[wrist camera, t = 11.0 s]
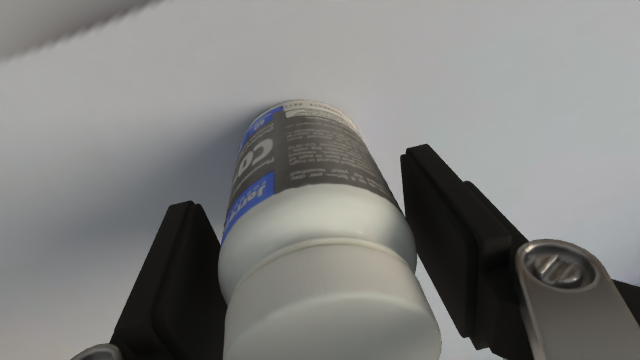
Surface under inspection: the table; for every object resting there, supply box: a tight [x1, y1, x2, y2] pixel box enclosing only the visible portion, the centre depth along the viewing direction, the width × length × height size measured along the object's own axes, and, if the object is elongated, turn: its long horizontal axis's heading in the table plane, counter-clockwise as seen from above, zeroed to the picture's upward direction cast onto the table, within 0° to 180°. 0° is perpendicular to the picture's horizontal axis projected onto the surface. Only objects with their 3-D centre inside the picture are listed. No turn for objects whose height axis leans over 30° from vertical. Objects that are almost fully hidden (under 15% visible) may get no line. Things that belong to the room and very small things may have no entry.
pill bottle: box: [218, 100, 442, 360], centre depth 10 cm, size 5×5×8 cm
